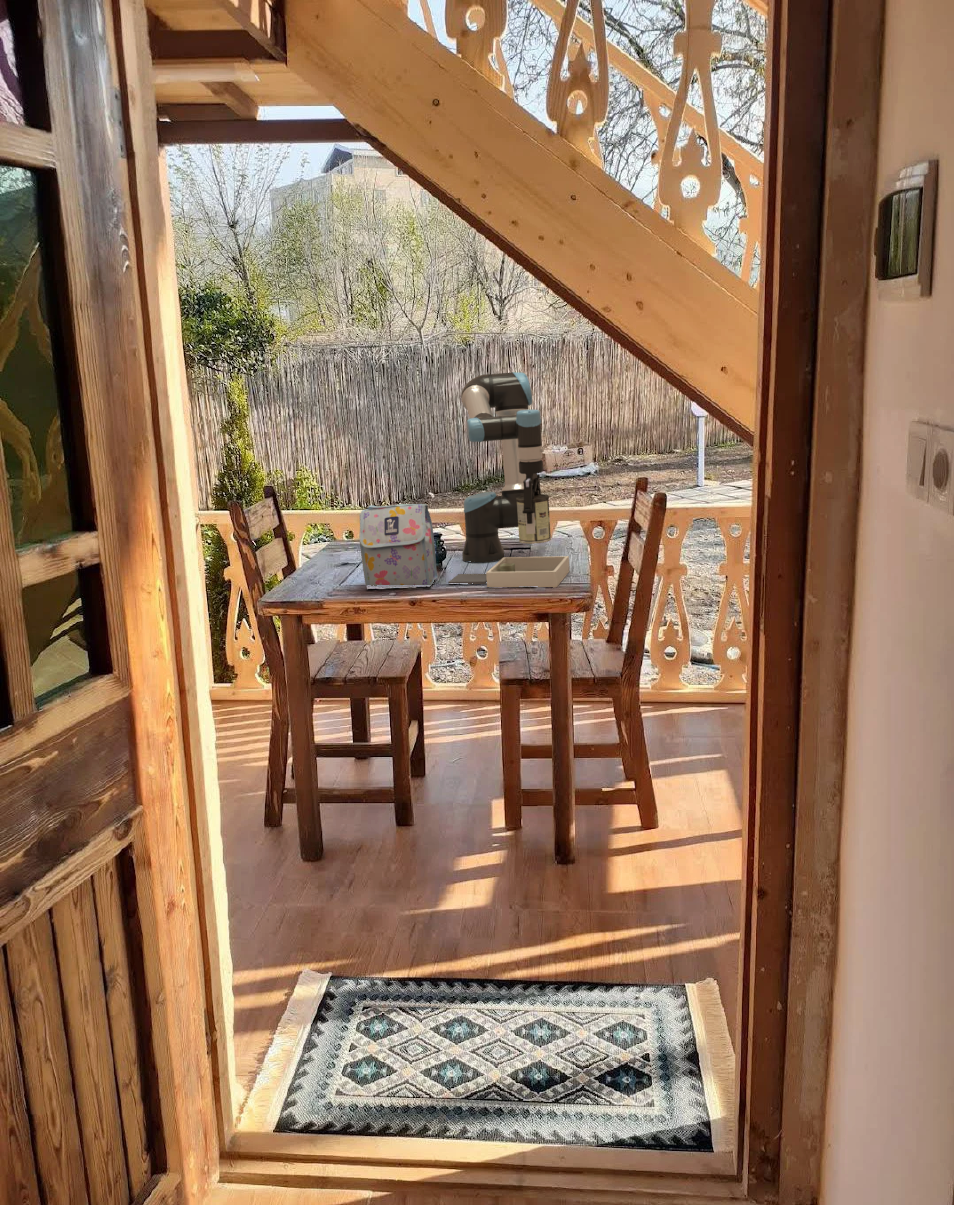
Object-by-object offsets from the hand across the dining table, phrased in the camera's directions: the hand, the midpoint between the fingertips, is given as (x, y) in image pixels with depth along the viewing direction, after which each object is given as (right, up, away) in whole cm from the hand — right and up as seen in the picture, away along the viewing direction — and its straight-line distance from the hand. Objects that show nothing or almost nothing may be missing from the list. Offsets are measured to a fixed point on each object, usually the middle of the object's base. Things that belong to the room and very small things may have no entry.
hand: (534, 530), depth 328 cm
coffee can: (0, -3, +1) cm, 4 cm away
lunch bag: (-43, -18, +7) cm, 47 cm away
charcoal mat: (-20, -16, +8) cm, 27 cm away
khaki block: (-8, -16, +6) cm, 18 cm away
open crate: (-1, -15, +4) cm, 16 cm away
